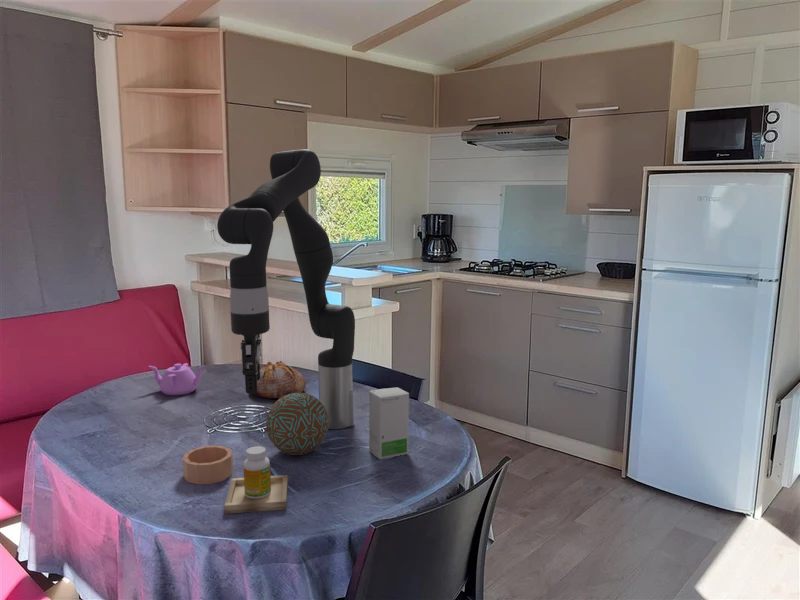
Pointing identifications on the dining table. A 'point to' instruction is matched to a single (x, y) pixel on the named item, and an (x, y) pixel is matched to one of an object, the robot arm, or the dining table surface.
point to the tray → (242, 504)
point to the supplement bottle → (257, 473)
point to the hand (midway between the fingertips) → (253, 386)
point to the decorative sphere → (297, 423)
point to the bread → (278, 381)
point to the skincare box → (388, 422)
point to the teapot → (178, 379)
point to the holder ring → (207, 464)
